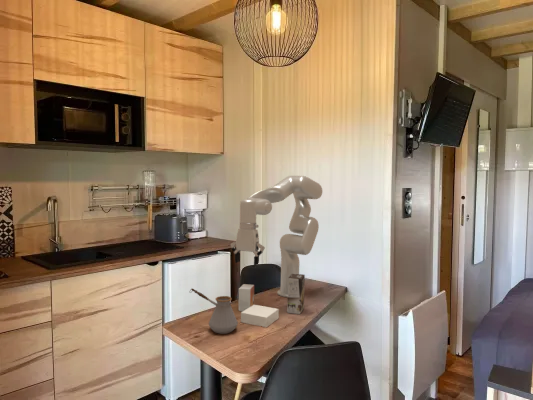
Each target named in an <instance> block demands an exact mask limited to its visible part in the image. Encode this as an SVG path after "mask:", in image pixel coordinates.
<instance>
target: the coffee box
mask: <svg viewBox="0 0 533 400" xmlns="http://www.w3.org/2000/svg"><path fill="white" fill-rule="evenodd" d="M305 276H306V275H305V274H301V273H299V274H291V275H290V277H289V278H288V297H287V304H286V305H287V306H286V307H287V308H286V313H288V314H295V315H301V313H302V312H303V310H304V308H305V307H304V306H305V281H306V280H305Z"/></svg>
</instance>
